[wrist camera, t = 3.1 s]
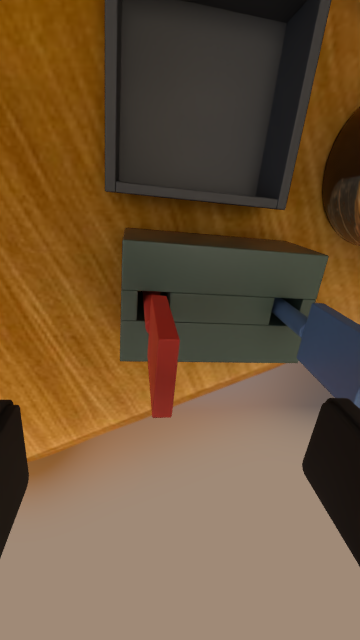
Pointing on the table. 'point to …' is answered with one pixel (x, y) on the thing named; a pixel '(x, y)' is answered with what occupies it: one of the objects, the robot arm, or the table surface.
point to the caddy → (217, 294)
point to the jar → (344, 182)
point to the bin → (208, 96)
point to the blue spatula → (326, 346)
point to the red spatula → (161, 352)
